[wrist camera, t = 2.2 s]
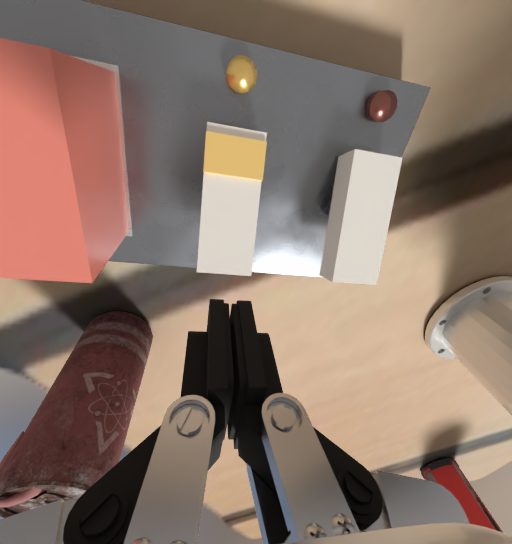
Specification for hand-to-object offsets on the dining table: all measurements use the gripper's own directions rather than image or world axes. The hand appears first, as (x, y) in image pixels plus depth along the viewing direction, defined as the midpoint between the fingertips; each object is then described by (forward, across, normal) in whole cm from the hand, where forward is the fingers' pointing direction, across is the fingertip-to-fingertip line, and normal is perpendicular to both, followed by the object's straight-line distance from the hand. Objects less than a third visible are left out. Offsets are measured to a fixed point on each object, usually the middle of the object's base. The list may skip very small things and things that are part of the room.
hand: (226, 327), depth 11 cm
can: (+13, +9, +13) cm, 20 cm away
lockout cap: (+10, +9, -4) cm, 14 cm away
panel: (+13, +1, -4) cm, 13 cm away
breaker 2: (+7, -9, -3) cm, 12 cm away
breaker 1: (+7, 0, -3) cm, 8 cm away
